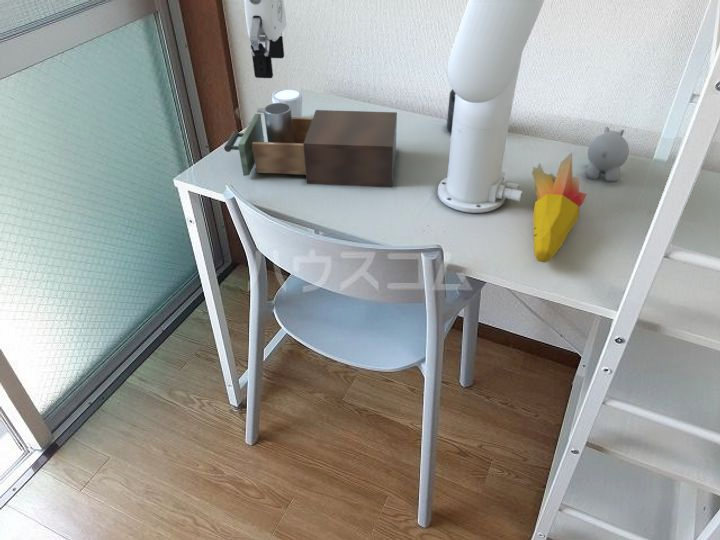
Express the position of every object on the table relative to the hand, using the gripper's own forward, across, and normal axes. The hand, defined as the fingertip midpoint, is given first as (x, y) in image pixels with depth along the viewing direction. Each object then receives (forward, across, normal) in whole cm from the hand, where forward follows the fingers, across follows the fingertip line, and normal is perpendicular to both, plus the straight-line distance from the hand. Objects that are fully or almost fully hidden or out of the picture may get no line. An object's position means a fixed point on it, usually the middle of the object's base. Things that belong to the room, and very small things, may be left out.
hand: (270, 67), depth 106 cm
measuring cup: (+18, -1, -1) cm, 18 cm away
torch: (+19, -19, -51) cm, 58 cm away
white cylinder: (+20, +18, +2) cm, 27 cm away
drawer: (+19, -1, 0) cm, 19 cm away
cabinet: (+20, -1, -15) cm, 25 cm away
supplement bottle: (+20, +17, -38) cm, 46 cm away
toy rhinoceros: (+19, +2, -65) cm, 68 cm away
